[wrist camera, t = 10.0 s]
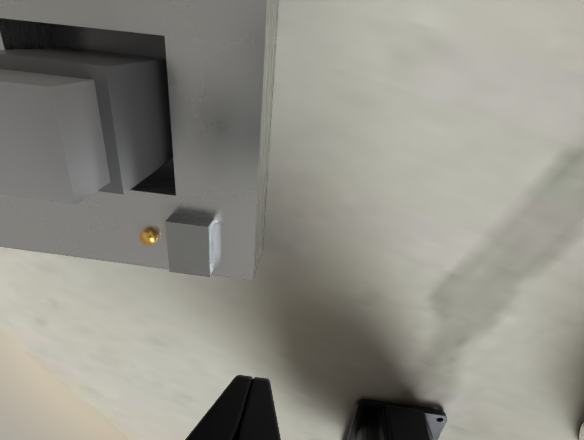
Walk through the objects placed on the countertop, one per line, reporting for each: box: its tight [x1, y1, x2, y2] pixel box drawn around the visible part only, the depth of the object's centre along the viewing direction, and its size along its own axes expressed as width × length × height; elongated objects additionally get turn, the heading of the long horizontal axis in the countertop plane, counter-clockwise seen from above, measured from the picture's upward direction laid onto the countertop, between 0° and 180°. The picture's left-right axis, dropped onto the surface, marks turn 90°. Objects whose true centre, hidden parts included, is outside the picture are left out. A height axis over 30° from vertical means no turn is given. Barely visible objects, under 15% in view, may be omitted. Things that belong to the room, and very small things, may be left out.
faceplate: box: [0, 0, 279, 280], centre depth 15 cm, size 15×14×4 cm
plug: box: [0, 48, 173, 204], centre depth 13 cm, size 4×4×7 cm
